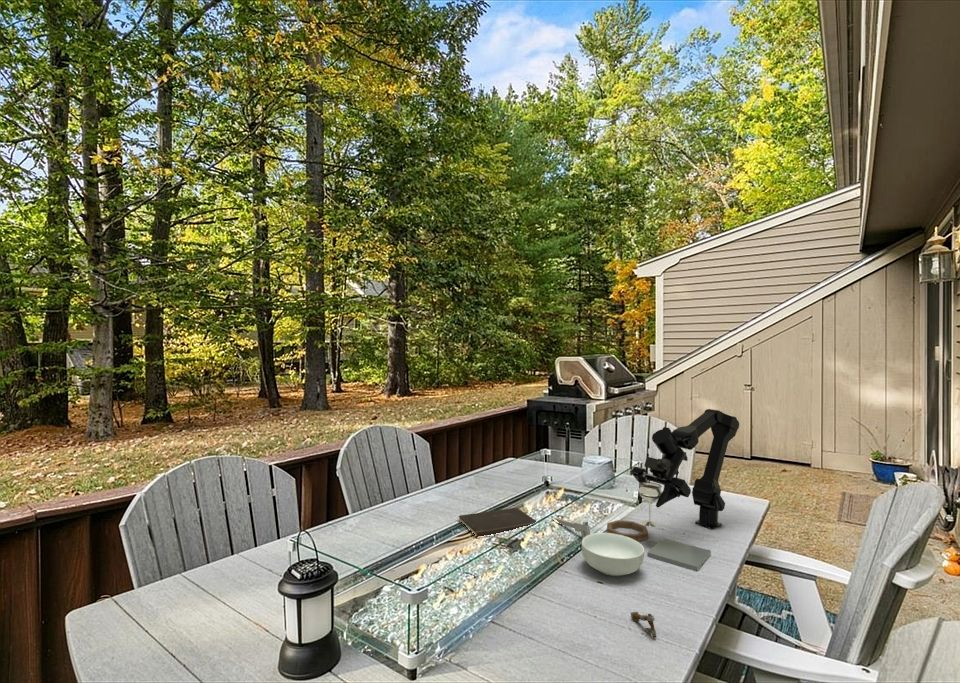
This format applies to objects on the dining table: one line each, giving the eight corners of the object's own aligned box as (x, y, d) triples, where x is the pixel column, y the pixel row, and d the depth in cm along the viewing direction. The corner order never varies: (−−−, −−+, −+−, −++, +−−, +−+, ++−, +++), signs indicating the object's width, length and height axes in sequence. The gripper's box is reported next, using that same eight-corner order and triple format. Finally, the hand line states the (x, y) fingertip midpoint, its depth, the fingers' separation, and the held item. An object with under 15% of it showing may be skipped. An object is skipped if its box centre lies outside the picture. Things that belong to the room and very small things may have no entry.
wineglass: (657, 519, 158) (657, 482, 158) (664, 528, 151) (665, 488, 151) (635, 519, 158) (636, 481, 158) (641, 527, 151) (642, 488, 151)
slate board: (663, 541, 157) (663, 537, 157) (710, 554, 148) (710, 550, 148) (647, 556, 146) (647, 552, 146) (697, 571, 138) (697, 566, 138)
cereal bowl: (609, 590, 127) (609, 562, 126) (568, 563, 141) (569, 538, 141) (657, 576, 134) (658, 550, 134) (614, 552, 149) (614, 528, 149)
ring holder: (624, 523, 172) (624, 518, 172) (655, 536, 162) (655, 530, 161) (599, 531, 165) (599, 525, 165) (630, 544, 154) (630, 538, 154)
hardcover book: (458, 522, 172) (458, 515, 172) (516, 513, 181) (517, 507, 181) (476, 540, 157) (476, 532, 157) (539, 529, 167) (539, 523, 167)
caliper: (590, 543, 156) (590, 523, 156) (587, 543, 155) (587, 523, 155) (554, 520, 175) (554, 502, 174) (551, 521, 174) (552, 503, 174)
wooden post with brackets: (653, 638, 105) (649, 614, 107) (634, 634, 112) (630, 611, 114) (661, 637, 105) (656, 613, 107) (641, 632, 112) (637, 610, 114)
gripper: (634, 441, 164) (611, 480, 158) (685, 453, 148) (662, 496, 143) (649, 462, 169) (627, 500, 163) (700, 475, 153) (678, 518, 147)
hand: (647, 503), depth 154 cm, fingers closed on wineglass, 6 cm apart
